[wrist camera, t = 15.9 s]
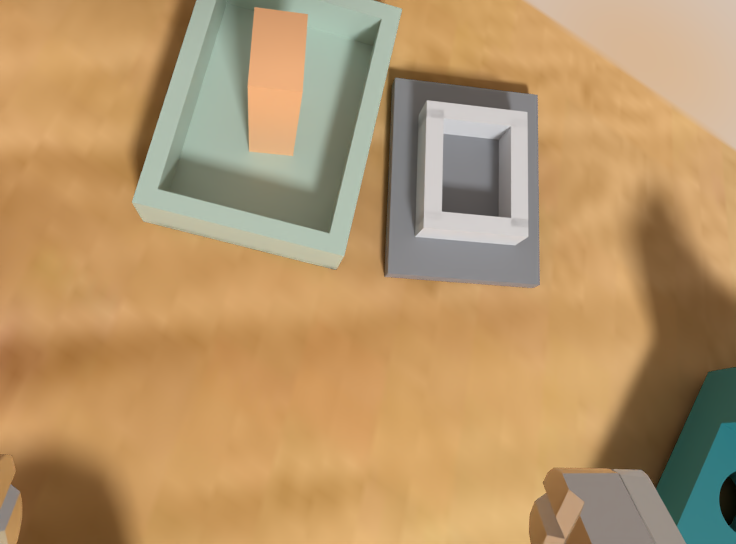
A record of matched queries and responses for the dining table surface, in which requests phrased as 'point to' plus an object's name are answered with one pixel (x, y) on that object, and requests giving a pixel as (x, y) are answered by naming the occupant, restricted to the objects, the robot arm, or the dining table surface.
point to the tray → (231, 131)
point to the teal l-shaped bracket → (704, 463)
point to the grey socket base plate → (463, 185)
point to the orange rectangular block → (275, 80)
